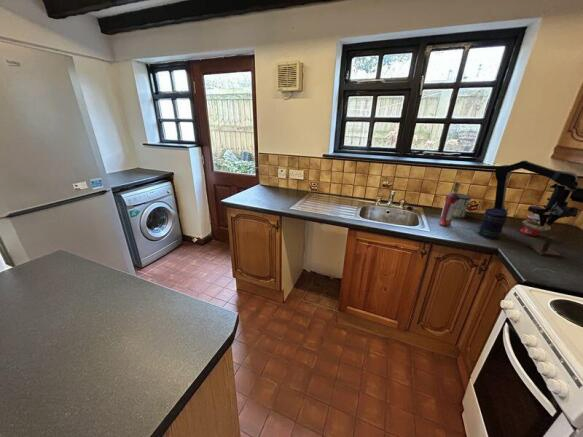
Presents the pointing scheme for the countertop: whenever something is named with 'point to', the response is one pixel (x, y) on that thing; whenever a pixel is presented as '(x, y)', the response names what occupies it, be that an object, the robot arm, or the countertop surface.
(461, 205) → the coffee can
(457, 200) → the liquor
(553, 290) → the countertop surface
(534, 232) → the canned food
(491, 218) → the storage jar
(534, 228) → the tape
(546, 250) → the tape post
